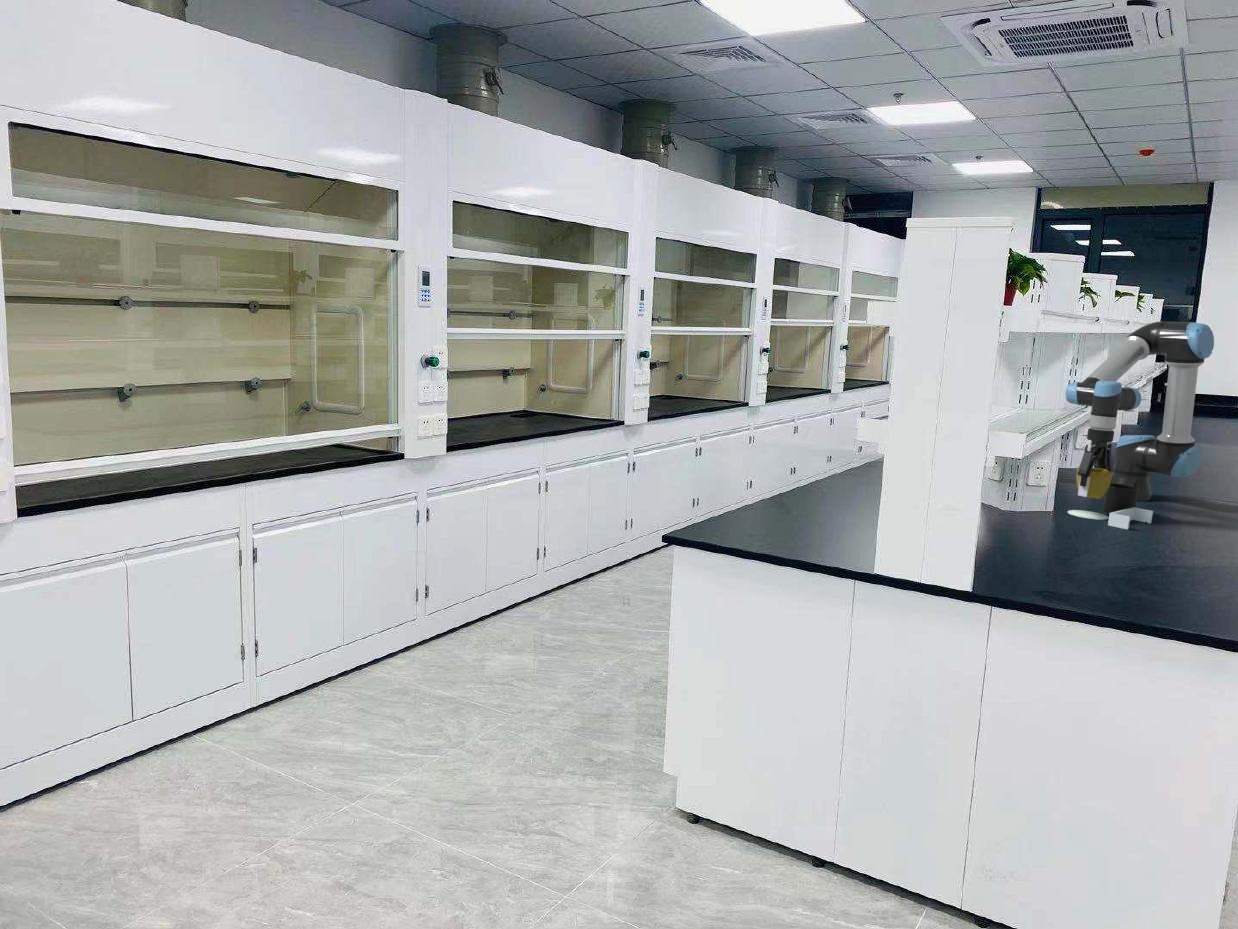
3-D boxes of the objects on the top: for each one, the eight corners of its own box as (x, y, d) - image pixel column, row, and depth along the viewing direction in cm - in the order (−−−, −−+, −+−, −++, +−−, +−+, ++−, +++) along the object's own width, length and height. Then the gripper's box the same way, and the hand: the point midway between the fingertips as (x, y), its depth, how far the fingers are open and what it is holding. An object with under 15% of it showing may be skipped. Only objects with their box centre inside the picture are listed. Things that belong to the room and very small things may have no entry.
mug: (1141, 513, 302) (1145, 487, 300) (1128, 517, 294) (1132, 490, 292) (1111, 507, 309) (1115, 481, 307) (1098, 511, 301) (1102, 485, 299)
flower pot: (1109, 501, 287) (1113, 473, 285) (1080, 498, 288) (1084, 470, 287) (1100, 495, 295) (1104, 468, 294) (1072, 492, 297) (1076, 466, 295)
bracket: (1132, 519, 291) (1133, 507, 290) (1151, 523, 286) (1153, 511, 286) (1107, 525, 280) (1109, 512, 279) (1127, 529, 275) (1129, 516, 274)
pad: (1077, 509, 301) (1077, 508, 301) (1114, 517, 292) (1115, 516, 292) (1061, 513, 294) (1061, 512, 294) (1098, 521, 285) (1098, 520, 285)
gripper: (1105, 425, 298) (1095, 489, 302) (1072, 428, 283) (1062, 495, 287) (1129, 429, 292) (1118, 493, 296) (1096, 432, 277) (1086, 500, 281)
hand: (1090, 494), depth 292 cm, fingers closed on flower pot, 12 cm apart
